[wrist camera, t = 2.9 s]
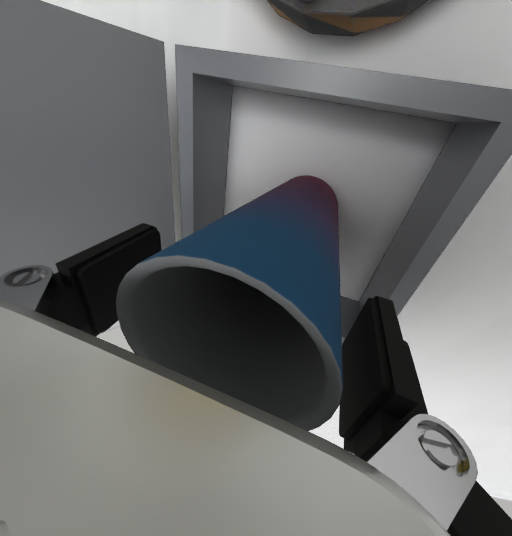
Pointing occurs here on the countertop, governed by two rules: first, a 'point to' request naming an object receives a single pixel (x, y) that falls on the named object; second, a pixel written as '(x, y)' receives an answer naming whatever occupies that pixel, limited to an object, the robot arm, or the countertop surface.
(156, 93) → the case lid
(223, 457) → the robot arm
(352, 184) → the countertop surface
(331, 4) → the cage light
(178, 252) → the cup
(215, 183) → the equipment case
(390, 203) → the countertop surface
